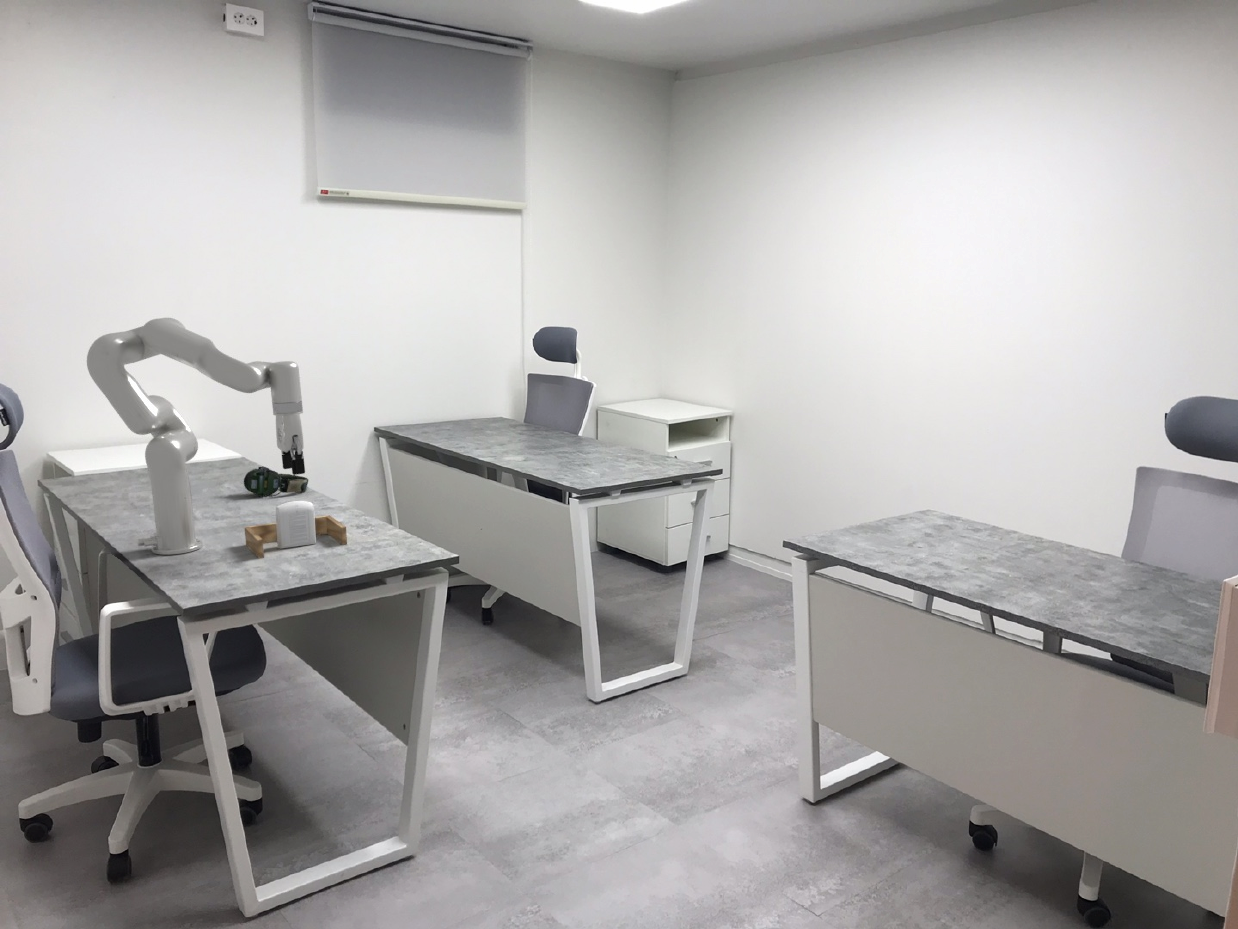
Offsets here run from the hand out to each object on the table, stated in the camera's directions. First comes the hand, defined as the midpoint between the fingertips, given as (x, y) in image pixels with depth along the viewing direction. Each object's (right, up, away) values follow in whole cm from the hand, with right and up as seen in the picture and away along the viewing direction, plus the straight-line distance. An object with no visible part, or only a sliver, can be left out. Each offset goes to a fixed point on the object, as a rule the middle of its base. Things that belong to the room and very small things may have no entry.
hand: (294, 471), depth 259 cm
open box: (-1, -20, +5) cm, 21 cm away
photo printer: (0, -21, +4) cm, 21 cm away
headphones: (-28, -8, +67) cm, 73 cm away
